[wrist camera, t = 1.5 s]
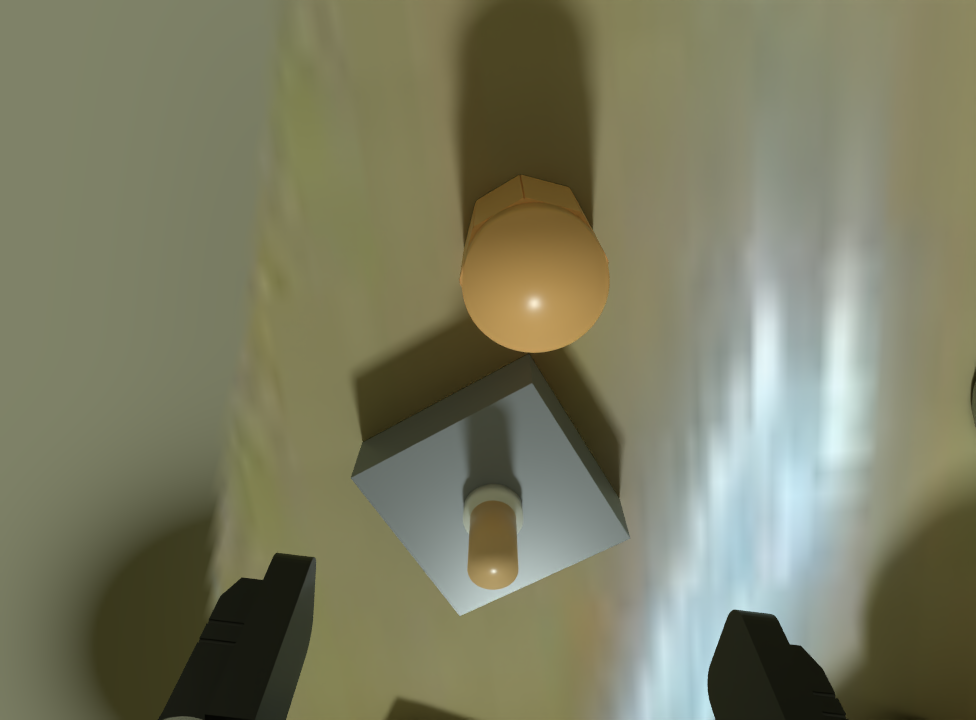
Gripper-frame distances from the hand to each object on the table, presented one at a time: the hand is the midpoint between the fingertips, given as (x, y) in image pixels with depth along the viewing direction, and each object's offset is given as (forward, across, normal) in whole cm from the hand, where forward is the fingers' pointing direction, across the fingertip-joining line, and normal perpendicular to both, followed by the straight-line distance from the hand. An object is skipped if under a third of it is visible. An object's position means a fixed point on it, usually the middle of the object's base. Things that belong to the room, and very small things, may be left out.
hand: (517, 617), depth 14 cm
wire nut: (+19, 0, -3) cm, 19 cm away
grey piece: (+19, -1, +9) cm, 21 cm away
